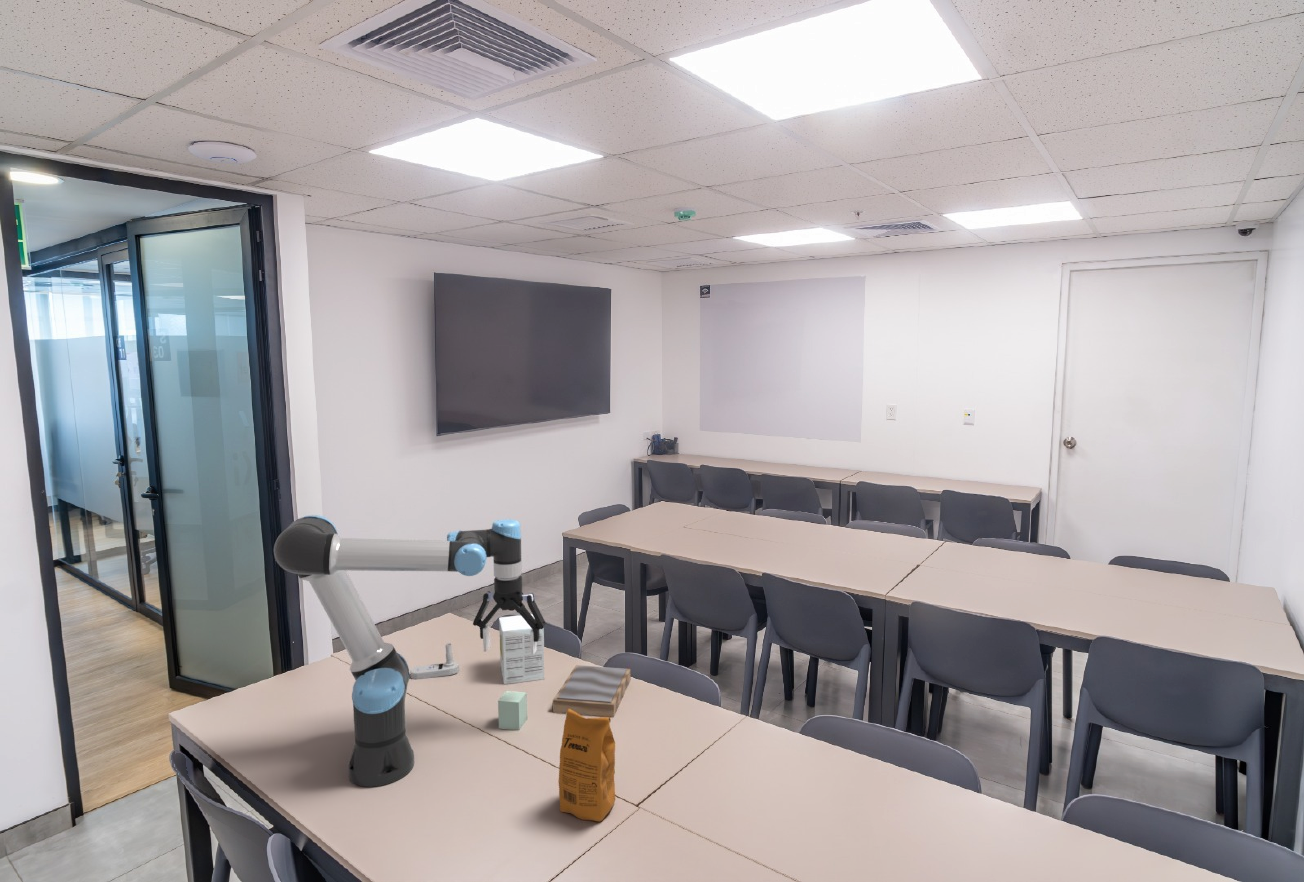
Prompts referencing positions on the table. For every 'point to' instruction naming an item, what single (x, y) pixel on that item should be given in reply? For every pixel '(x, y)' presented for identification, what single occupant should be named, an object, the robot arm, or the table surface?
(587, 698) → the base
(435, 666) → the electronic device
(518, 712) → the sage block
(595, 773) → the coffee package
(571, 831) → the table surface
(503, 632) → the supplement box
